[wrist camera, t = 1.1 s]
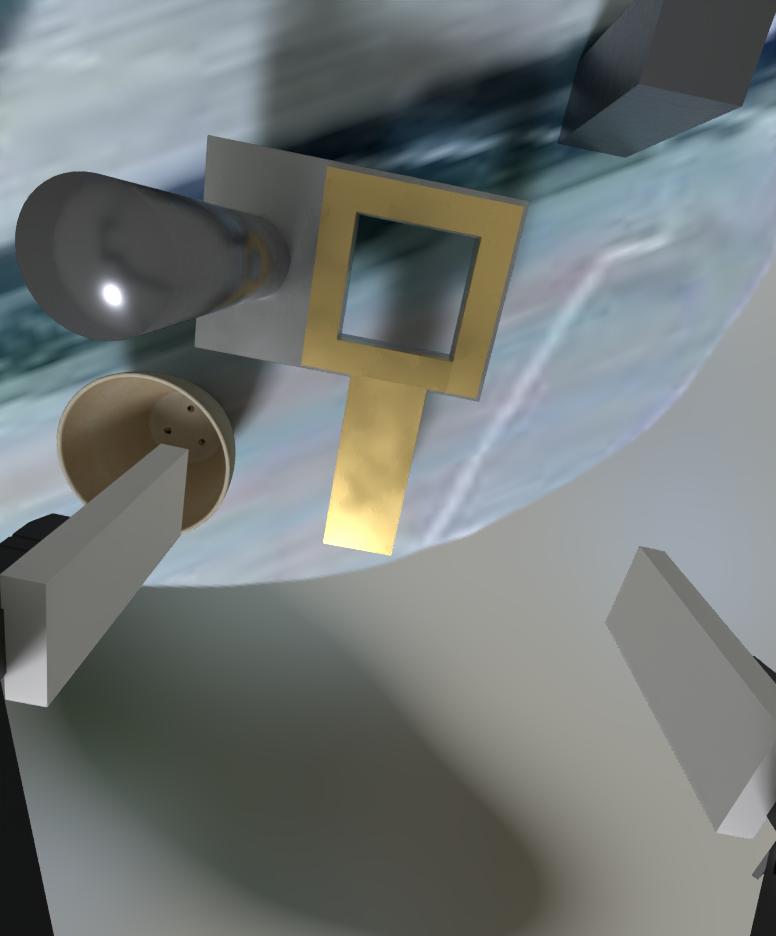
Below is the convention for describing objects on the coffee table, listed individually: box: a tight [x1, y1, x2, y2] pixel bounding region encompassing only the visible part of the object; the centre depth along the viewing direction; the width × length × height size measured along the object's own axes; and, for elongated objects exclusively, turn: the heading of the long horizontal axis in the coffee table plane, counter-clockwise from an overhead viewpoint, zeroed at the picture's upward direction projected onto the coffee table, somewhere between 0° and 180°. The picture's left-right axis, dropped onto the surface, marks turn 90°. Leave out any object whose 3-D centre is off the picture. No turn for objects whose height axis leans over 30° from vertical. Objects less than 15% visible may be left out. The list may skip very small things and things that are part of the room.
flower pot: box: [57, 372, 235, 534], centre depth 35 cm, size 10×10×7 cm
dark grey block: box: [558, 0, 776, 157], centre depth 26 cm, size 4×4×12 cm
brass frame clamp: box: [15, 135, 530, 555], centre depth 26 cm, size 20×16×22 cm
